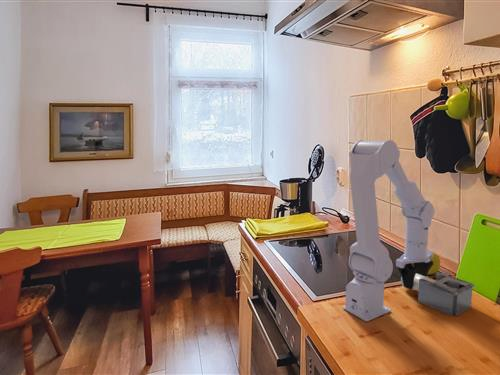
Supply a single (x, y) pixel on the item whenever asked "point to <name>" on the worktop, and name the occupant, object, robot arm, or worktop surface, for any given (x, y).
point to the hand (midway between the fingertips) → (413, 285)
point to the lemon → (434, 264)
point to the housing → (446, 294)
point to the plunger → (453, 284)
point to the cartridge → (416, 281)
